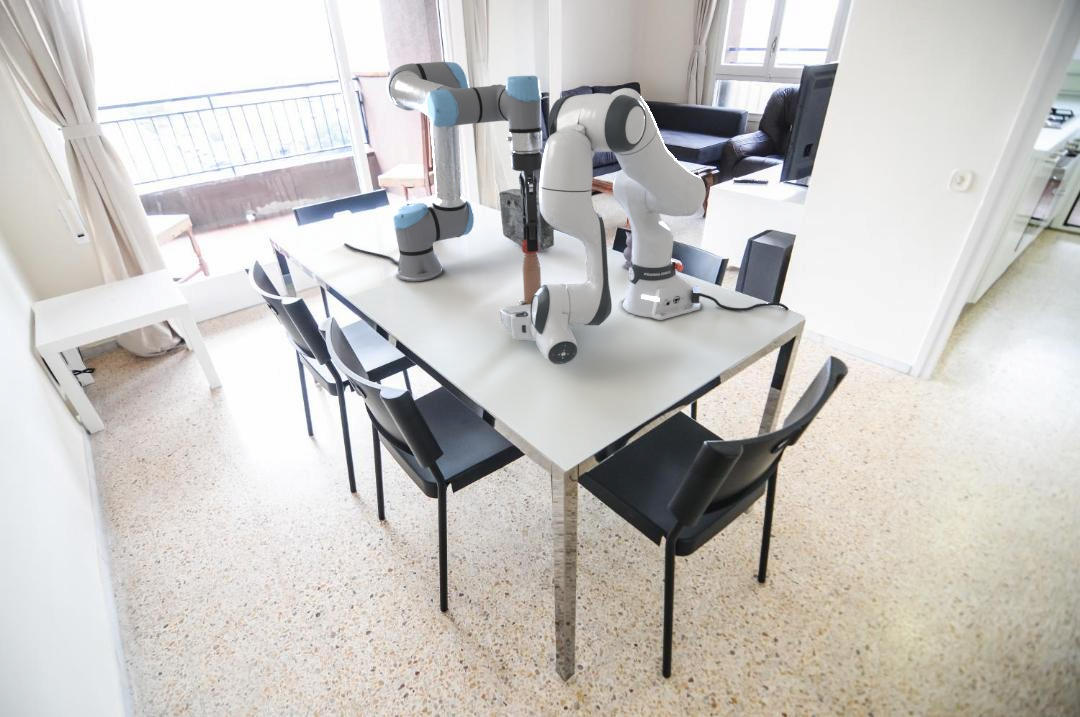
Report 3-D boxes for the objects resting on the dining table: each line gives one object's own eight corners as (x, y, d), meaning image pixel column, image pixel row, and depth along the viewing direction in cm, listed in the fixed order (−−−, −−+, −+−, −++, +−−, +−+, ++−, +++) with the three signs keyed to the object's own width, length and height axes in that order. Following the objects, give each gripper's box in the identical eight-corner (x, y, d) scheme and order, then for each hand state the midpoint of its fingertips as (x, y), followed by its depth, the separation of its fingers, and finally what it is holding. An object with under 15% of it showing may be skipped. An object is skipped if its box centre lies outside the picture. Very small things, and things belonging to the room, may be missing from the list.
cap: (542, 251, 129) (542, 241, 128) (529, 255, 127) (528, 245, 125) (532, 247, 132) (531, 237, 131) (519, 251, 130) (518, 241, 128)
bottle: (545, 324, 140) (543, 242, 128) (532, 329, 138) (528, 247, 125) (535, 318, 143) (532, 238, 131) (522, 323, 141) (517, 242, 129)
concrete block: (559, 252, 190) (558, 199, 179) (540, 257, 185) (538, 203, 175) (520, 236, 208) (517, 187, 198) (502, 240, 204) (498, 190, 194)
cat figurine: (651, 266, 175) (654, 232, 168) (638, 272, 170) (641, 238, 163) (630, 260, 180) (633, 227, 173) (618, 267, 175) (619, 233, 169)
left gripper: (507, 146, 124) (513, 236, 136) (514, 159, 108) (520, 260, 120) (536, 144, 125) (540, 234, 137) (548, 157, 109) (550, 257, 121)
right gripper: (584, 306, 127) (567, 286, 138) (505, 318, 123) (495, 296, 134) (583, 328, 130) (567, 306, 142) (507, 340, 126) (497, 317, 138)
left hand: (530, 246), depth 129 cm, fingers open, 6 cm apart
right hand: (532, 301), depth 138 cm, fingers closed on bottle, 5 cm apart
